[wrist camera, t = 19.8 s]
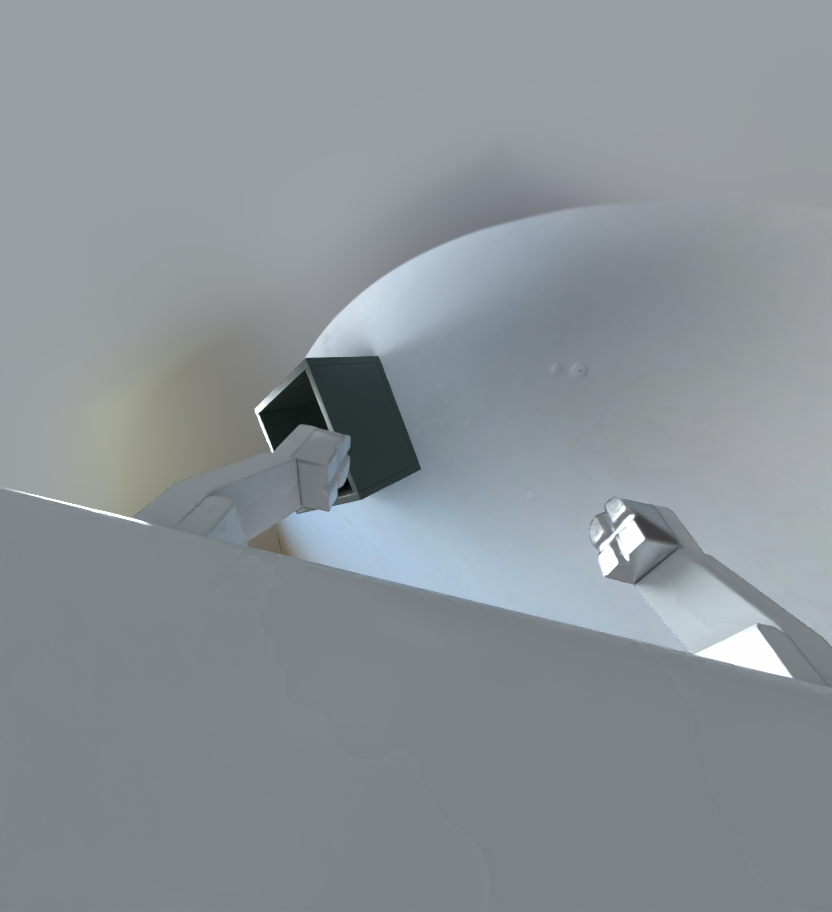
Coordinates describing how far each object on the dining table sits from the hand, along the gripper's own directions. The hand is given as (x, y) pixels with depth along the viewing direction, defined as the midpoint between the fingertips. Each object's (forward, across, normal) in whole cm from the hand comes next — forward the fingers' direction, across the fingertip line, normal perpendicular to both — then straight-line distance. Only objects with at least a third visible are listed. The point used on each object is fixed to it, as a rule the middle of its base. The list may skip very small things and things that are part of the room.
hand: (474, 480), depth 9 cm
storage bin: (+26, +10, +17) cm, 33 cm away
